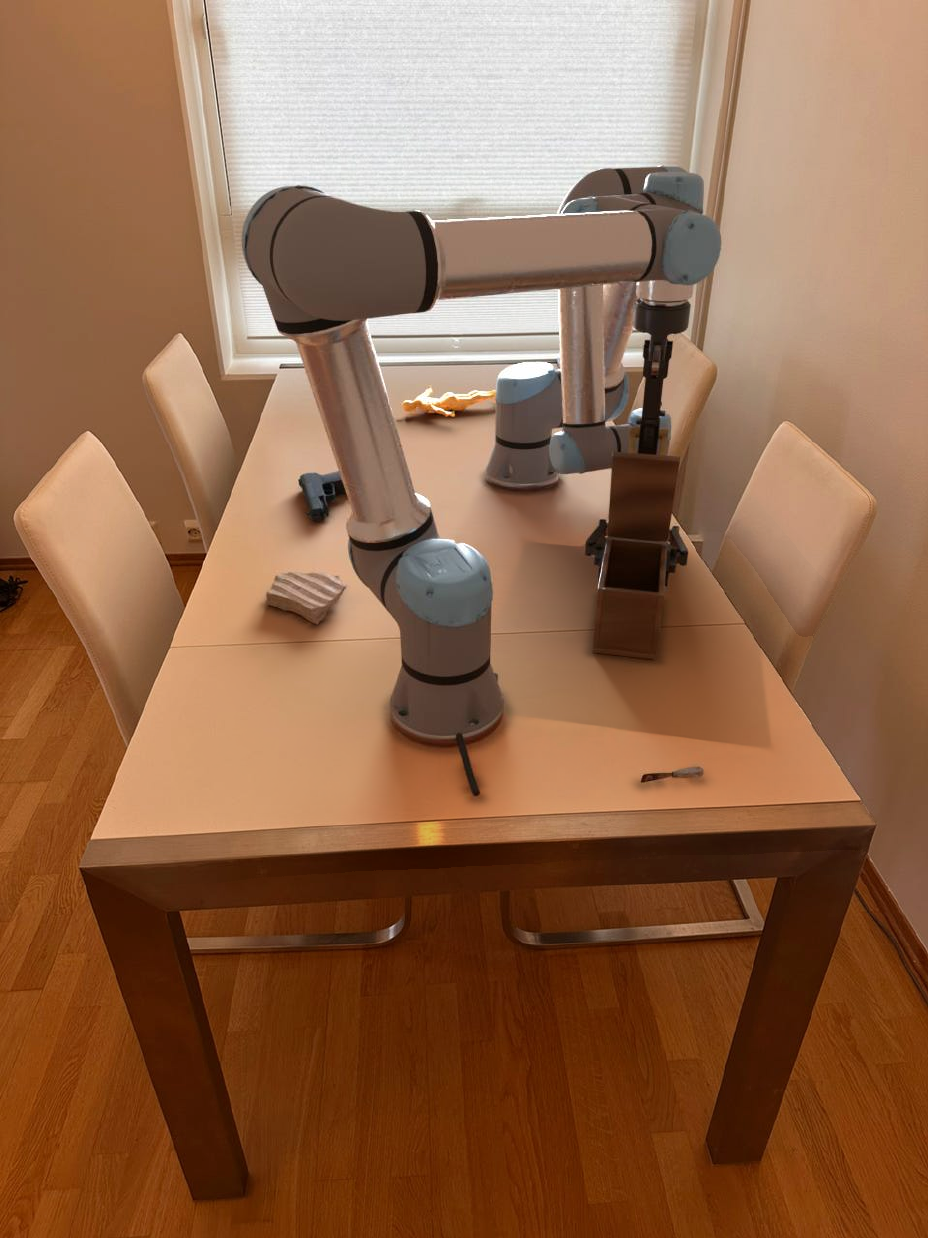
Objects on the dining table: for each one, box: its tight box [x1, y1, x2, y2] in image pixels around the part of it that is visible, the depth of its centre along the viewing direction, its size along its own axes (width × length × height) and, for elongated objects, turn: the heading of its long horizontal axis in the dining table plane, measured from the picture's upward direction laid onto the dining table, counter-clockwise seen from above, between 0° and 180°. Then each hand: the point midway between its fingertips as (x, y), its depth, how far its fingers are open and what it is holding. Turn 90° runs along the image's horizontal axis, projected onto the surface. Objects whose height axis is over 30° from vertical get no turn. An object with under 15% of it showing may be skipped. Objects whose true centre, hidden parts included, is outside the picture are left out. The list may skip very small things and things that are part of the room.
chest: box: [591, 536, 667, 661], centre depth 136 cm, size 17×9×11 cm, turn 168°
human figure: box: [402, 385, 496, 418], centre depth 225 cm, size 20×20×4 cm
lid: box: [606, 426, 681, 541], centre depth 135 cm, size 18×9×8 cm
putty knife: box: [640, 765, 705, 784], centre depth 109 cm, size 1×8×2 cm, turn 103°
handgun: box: [298, 470, 346, 522], centre depth 178 cm, size 3×18×12 cm
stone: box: [265, 571, 347, 625], centre depth 145 cm, size 13×12×2 cm
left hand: (646, 462), depth 134 cm, fingers closed on lid, 2 cm apart
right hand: (633, 575), depth 140 cm, fingers closed on chest, 9 cm apart
